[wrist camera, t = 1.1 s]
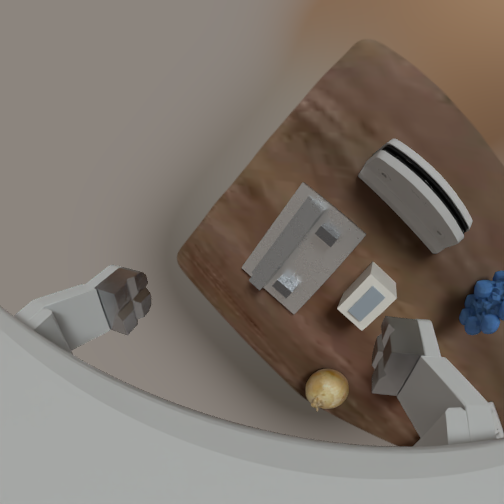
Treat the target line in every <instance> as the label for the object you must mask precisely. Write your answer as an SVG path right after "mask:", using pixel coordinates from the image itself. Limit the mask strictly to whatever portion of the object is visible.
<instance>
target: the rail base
mask: <svg viewBox="0 0 504 504" xmlns="http://www.w3.org/2000/svg"><path fill="white" fill-rule="evenodd" d="M365 235H366V233H365V232H364V231H363V230H361V229H360V228H359V227H358V226H357V225H356V224H355V223H353V222H352V221H351V220H350V219H349V218H348V217H346V216H345V215H344V214H343V213H342V212H340V211H339V210H338V209H337V208H336V207H334V206H333V205H332V204H331V203H330V202H328V201H327V200H326V199H325V198H323V197H322V196H321V195H320V194H318V193H317V192H316V191H315V190H313V189H312V188H311V187H310V186H308V185H307V184H306V183H304V182H303V183H302V184H301V186H300V187H299V188H298V190H297V191H296V192H295V194H294V195H293V197H292V198H291V199H290V201H289V202H288V204H287V205H286V206H285V208H284V209H283V211H282V212H281V213H280V215H279V216H278V218H277V219H276V220H275V222H274V223H273V225H272V226H271V227H270V229H269V230H268V231H267V233H266V234H265V236H264V237H263V238H262V240H261V241H260V243H259V244H258V245H257V247H256V248H255V250H254V251H253V252H252V254H251V255H250V257H249V258H248V259H247V261H246V262H245V263H244V265H243V266H242V269H243V270H244V271H245V272H247V273H248V274H249V275H250V276H251V278H250V279H249V281H250V282H251V283H252V284H253V285H254V286H255V287H256V288H257V289H259V290H261V289H262V288H264V289H266V290H267V291H268V292H269V293H270V294H271V295H272V296H273V297H275V298H276V299H277V300H278V301H279V302H280V303H281V304H283V305H284V306H285V307H286V308H287V309H288V310H289V311H290V312H292V313H293V314H295V313H296V312H297V311H298V310H299V309H300V308H301V307H302V306H303V305H304V304H305V303H306V301H307V300H308V299H309V298H310V297H311V296H312V295H313V294H314V293H315V292H316V291H317V290H318V289H319V288H320V286H321V285H322V284H323V283H324V282H325V281H326V280H327V279H328V278H329V277H330V275H331V274H332V273H333V272H334V271H335V270H336V269H337V268H338V267H339V265H340V264H341V263H342V262H343V261H344V260H345V259H346V257H347V256H348V255H349V254H350V253H351V252H352V251H353V249H354V248H355V247H356V246H357V245H358V244H359V242H360V241H361V240H362V239H363V238H364V236H365Z"/></svg>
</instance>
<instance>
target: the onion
mask: <svg viewBox="0 0 504 504" xmlns="http://www.w3.org/2000/svg"><path fill="white" fill-rule="evenodd" d="M305 390H306V397H307V399H308V401H309V402H310V403H311V406H312V407H314V408H316V409H317V411H318V408H317V407H320V408H325V409H330V408H335V407H337V406H339V405H341V404H342V403H343V402H344V401H345V399H346V398H347V396H348V392H349V386H348V382H347V379H346V378H345V376H344V375H343V374H341V373H340V372H338V371H336V370H333V369H329V368H328V369H327V368H326V369H321V370H318V371H317V372H315V373H313V374H312V375H311V376H310V378H309V379H308V381H307V383H306V388H305ZM317 411H316V412H317Z"/></svg>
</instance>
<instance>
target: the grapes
mask: <svg viewBox="0 0 504 504" xmlns="http://www.w3.org/2000/svg"><path fill="white" fill-rule="evenodd" d="M464 305H465V308H464V309H462V311H461V313H460V317H459V320H460V323H461V324H462V325H465V331H466V332H467V334H470V335H475V334H478V333H480V332H481V331H482V332H483V333H486V334H491V333H494V332H495V331H496V330H497V329H498V327H499V324H500V319H501V320H503V321H504V271H498V272H495V274H494V277H493V281H490V280H480V281H477V283H476V285H475V287H474V294H470V295H467V297H466V299H465V304H464ZM499 318H500V319H499Z"/></svg>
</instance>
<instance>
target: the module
mask: <svg viewBox="0 0 504 504" xmlns="http://www.w3.org/2000/svg"><path fill="white" fill-rule="evenodd" d="M396 298H397V294H396V282H395V281H393V280H392V279H391V278H390V277H389V276H388V275H387V274H386V273H385V272H384V271H383V270H382V269H381V268H380V267H378V266H377V265H376V264H375V263H374V262H372V263H371V264H370V265H369V266H368V267H367V268H366V269H365V271H364V272H363V273H362V274H361V275H360V276H359V277H358V278H357V279H356V280H355V281H354V282H353V283H352V284H351V286H350V287H349V288H348V289H347V290H346V291H345V292H344V293H343V295H342V298H341V300H340V302H339V305H338V307H337V309H338V310H339V311H340V312H341V313H342V314H343V315H344V316H346V317H347V318H348V319H349V320H350V321H351V322H352V323H353V324H355V325H356V326H357V327H358V328H359V329H360V330H361V331H362V330H363V329H365V328H366V327H367V326H368V325H369V324H370V323H371V322H372V321H373V320H374V319H375V318H377V317H378V316H379V315H380V314H381V313H382V312H383V311H384V310H385V309H386V308H387V307H388V306H389V305H390V304H391V303H392V302H393V301H394V300H395V299H396Z"/></svg>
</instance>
